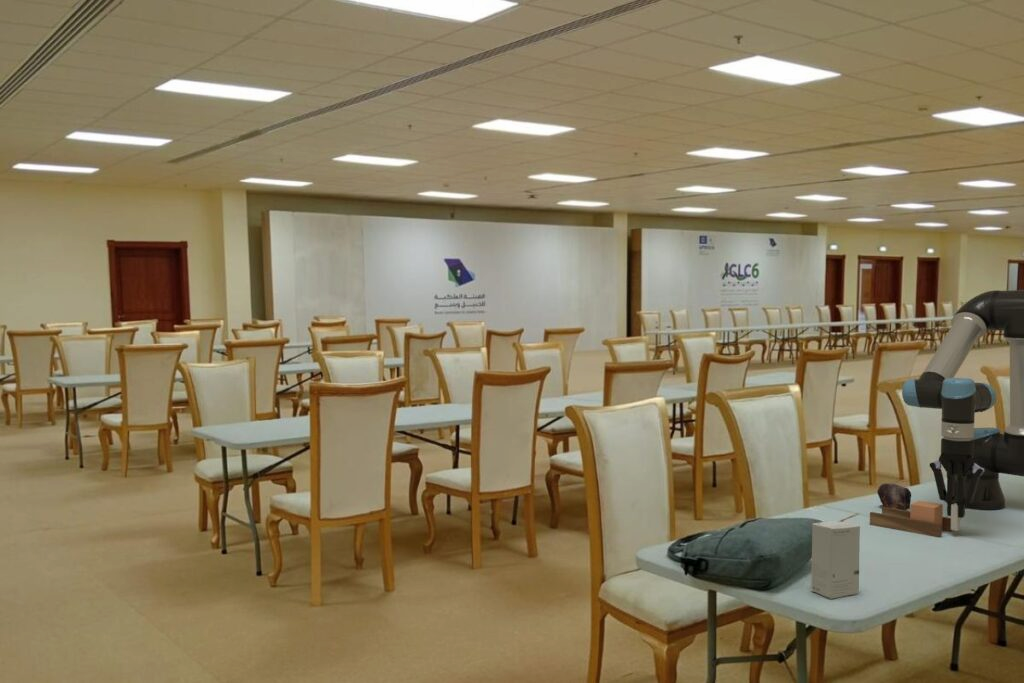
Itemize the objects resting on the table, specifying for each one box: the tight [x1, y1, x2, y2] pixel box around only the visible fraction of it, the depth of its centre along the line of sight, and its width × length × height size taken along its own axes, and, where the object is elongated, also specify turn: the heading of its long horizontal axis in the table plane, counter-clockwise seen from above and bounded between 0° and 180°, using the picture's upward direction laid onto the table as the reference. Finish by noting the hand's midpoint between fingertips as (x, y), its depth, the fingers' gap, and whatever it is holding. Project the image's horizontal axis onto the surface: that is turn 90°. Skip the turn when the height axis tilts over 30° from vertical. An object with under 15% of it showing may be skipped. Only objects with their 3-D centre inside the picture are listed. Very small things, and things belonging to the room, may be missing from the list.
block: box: [909, 500, 944, 524], centre depth 227 cm, size 6×6×7 cm
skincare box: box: [810, 520, 861, 600], centre depth 183 cm, size 8×6×15 cm
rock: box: [876, 482, 912, 511], centre depth 252 cm, size 12×9×10 cm
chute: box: [839, 506, 953, 539], centre depth 233 cm, size 12×26×4 cm, turn 45°
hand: (955, 529), depth 222 cm, fingers closed
